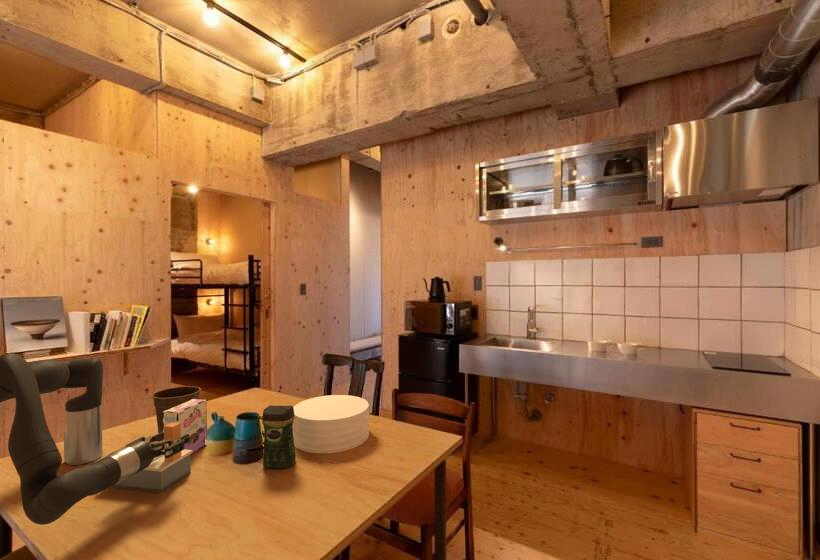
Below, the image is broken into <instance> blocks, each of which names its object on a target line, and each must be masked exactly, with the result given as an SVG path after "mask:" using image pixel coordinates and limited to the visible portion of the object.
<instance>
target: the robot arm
mask: <svg viewBox="0 0 820 560" xmlns="http://www.w3.org/2000/svg"><path fill="white" fill-rule="evenodd" d="M103 379H104V365H103V361H102V360H101V359H100V358H95V357H93V358H77V359H70V360H69V359H68V360H65V361H60V360H55V359H42V360H41V359H40V360H35V361H30V362H28V361H27V360H26V359H25V358H24V357H22V356H21V355H19V354H17V353H13V352H7V353H3V354H1V355H0V403H2V402H6V401H9V400H12V399H15V411H14V417H13V421H12V425H11V428H10V432H9V436H8V440H7V441H8V444H7V448H8V449H7V450H8V454H9V457H10V459H11V461H12V464H13V466H14V468H15V471H16V473H17V475H18V476H19V480H20V481H19V482H20V487H19V488H20V495H21V504H22V509H23V512H24V514H25V516H26V517H27V519H28V520H30V522H32V523H34V524H36V525H41V526H42V525H50V524H52V523H54V522H56V521H57V520H59V519H60V518H62V516H64V515H65V513H67V512H68V511H69V510H71V509H72V507H73V506H75V505H76V504H78V503H79V502H80V501H82V500H83V499H85V498H87V497H90V496H95V495H98V494H100V493H102V492H103V491H106V490H108V489H110V488H112V487H111V486H113V485H115V484H117V483H119V482H121V481H124V480H125V479H127V478H129V477H131V476H133V475H134V474H136V473H138V472H140V471H141V470H143V469H145V468H147V467H148V466H149V465H150V464H151V462H152V461H153V459H154V458H156V457H159V456H161V455H165V458H169V457H171V456H173V455H175V454H177V453H179V452H180V451H182V450H184V444H185V443H187V442H189V441H190V435H189V434H185V435H184V436H182V437H180V438H178V439H175V440H170V439H168V440H164V432H161V433H158V432H157V434H155V435H152V436H150V435H149V436H147V437H145V436H141V437H138V438H137V439H134V440H133V441H131V442H129V443H127V444H125V446H122V447H121V448H119V449H117V450H115V451H113V452H110V453H109V454H107V455H106V456H104V457H102V456H103V455H104V454H103V453H104V451H103V407H102V406H103V405H102V404H103V403H102V399H103V381H104V380H103ZM78 388H85V392H84V393H82V394H80V395H77V396H75V397H72V398H70V399H68V400H67V401H65V405H64V406H65V409H64V410H65V432H64V433H63V458H64V459H63V458H62V455H61V453H60V451H59V449H58V446H57V444H56V442H55V440H54V438H53V436H52V434H51V431H50V429H49V426H48V423H47V419H46V416H45V412H44V405H43V402H42V396H41V395H44V394H49V393H53V392H57V391H59V390H60V389H78ZM163 440H164V441H163ZM166 443H167V448H165V444H166ZM172 443H175V444H173V445H171V444H172ZM63 460H64V462H65V463H66V465H69V466H78V465H84V464H85V466H81V467H78V468H75V469H72V470H69V471H66V472H64V473H62V474H60V475H58V472H59V469H60V467H61V466H62V463H63ZM90 462H91V463H90ZM88 463H90V464H88ZM86 464H88V465H87V466H86Z"/></svg>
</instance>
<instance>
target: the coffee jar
mask: <svg viewBox="0 0 820 560" xmlns="http://www.w3.org/2000/svg"><path fill="white" fill-rule="evenodd" d="M293 407H294V406H293V405H268V406H267V407H265V408H264V409H263V411H262V417H261V422H262V426H263V430H264V448H263V455H262V457H263V458H262V465H263V468H266V469H286V468H288V467H290V466H292V465H293V464H294V462H295V461H296V447H295V446H294V438H293V421H294V418H295V414H294V408H293Z"/></svg>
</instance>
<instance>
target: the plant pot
mask: <svg viewBox="0 0 820 560" xmlns="http://www.w3.org/2000/svg"><path fill="white" fill-rule="evenodd" d="M201 390H202V388H201V387H200V386H199V387H198V386H191V385H187V386H185V385H184V386H177V387H175V386H174V387H169V388H164V389H160V390H158V391H155V392H154V393H152V394H151V397H152V399H153V405H154V408H155V414H156V415H155V416H156V423H157V434H158V433H161V432H163V411H166V410H168V409H171V408H173V407H176V406H178V405H181V404H183V403H185V402H188V401H190V400H192V399H200V392H201Z"/></svg>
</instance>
